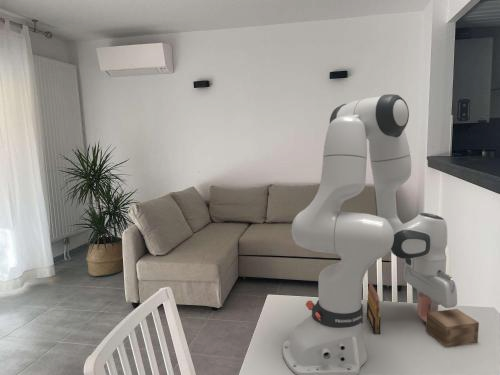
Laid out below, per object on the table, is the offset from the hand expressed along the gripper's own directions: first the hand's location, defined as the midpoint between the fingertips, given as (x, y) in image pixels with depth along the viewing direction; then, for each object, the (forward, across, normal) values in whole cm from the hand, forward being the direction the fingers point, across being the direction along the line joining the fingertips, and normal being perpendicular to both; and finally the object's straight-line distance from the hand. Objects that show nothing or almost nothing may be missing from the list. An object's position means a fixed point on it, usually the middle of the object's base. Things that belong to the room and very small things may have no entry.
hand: (427, 307), depth 109 cm
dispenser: (+4, -10, 0) cm, 11 cm away
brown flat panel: (+4, +1, +18) cm, 19 cm away
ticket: (+3, -6, 0) cm, 7 cm away
